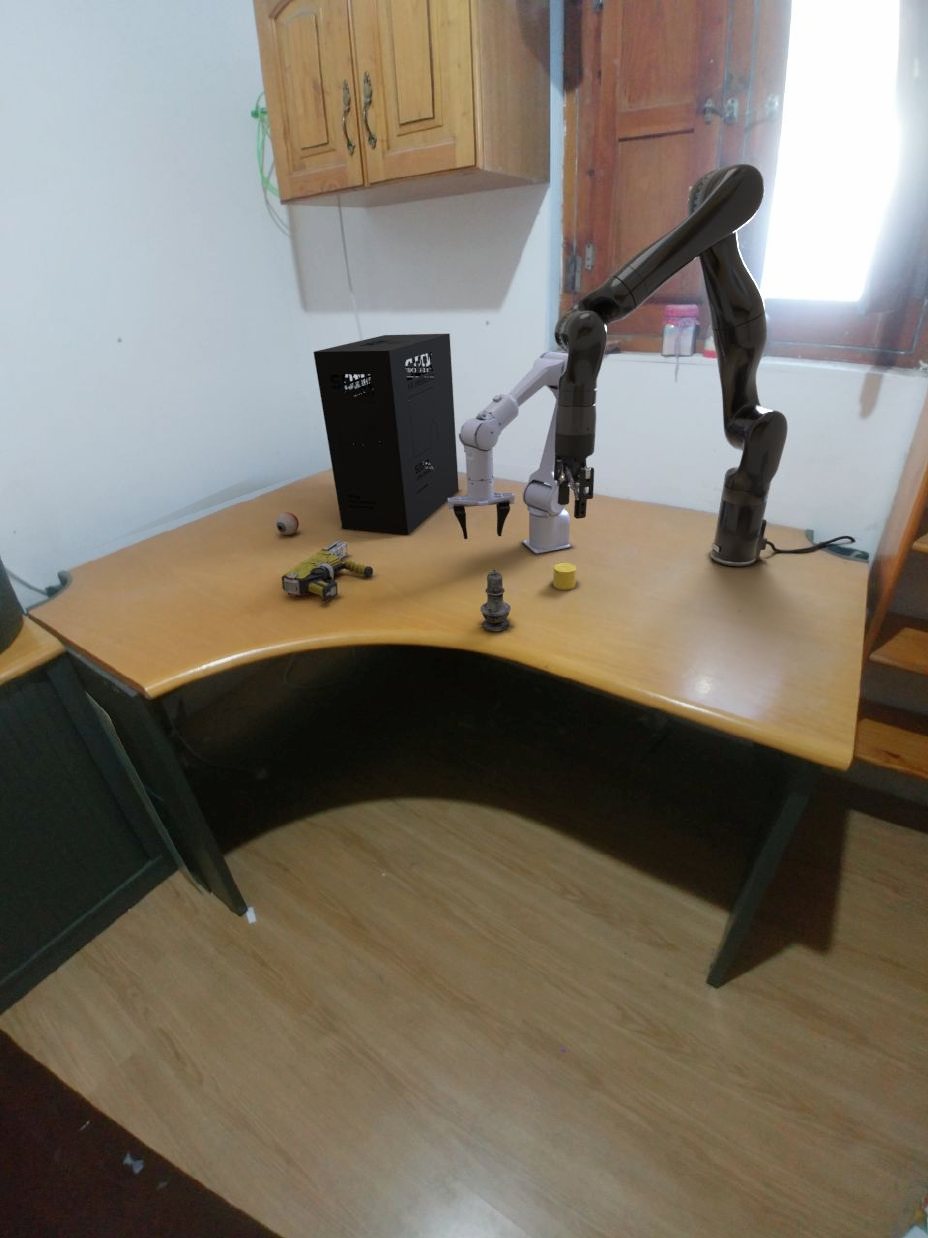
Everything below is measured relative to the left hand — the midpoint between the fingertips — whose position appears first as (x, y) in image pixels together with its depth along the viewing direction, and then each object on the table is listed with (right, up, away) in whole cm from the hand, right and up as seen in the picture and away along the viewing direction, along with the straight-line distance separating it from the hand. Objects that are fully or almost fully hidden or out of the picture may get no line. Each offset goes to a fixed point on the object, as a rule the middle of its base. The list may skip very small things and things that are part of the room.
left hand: (482, 536), depth 136 cm
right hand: (+18, +3, -15) cm, 23 cm away
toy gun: (-33, -10, +3) cm, 35 cm away
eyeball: (-52, +4, +29) cm, 60 cm away
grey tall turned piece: (+2, -20, -19) cm, 27 cm away
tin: (+18, -11, -5) cm, 22 cm away
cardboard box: (-22, +14, +42) cm, 50 cm away
